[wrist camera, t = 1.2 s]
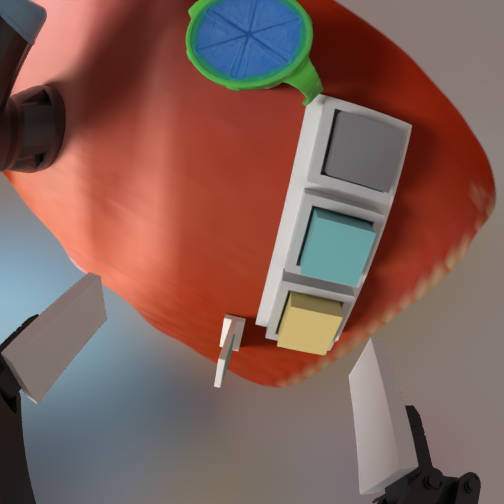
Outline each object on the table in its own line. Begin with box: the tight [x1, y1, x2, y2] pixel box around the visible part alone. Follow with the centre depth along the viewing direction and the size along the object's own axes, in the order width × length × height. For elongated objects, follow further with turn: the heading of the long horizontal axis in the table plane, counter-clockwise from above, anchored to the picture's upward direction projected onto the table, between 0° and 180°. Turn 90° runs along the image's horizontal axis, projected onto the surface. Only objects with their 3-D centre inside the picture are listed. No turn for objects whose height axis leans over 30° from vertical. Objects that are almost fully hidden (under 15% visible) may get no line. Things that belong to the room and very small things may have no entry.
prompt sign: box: [214, 314, 246, 388], centre depth 37 cm, size 3×6×9 cm, turn 169°
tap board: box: [255, 94, 412, 351], centre depth 30 cm, size 12×30×5 cm, turn 169°
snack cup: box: [186, 0, 324, 106], centre depth 21 cm, size 16×10×10 cm
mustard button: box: [277, 290, 343, 355], centre depth 32 cm, size 6×6×4 cm
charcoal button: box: [324, 111, 404, 193], centre depth 23 cm, size 6×6×4 cm
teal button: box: [300, 207, 376, 287], centre depth 27 cm, size 6×6×4 cm
